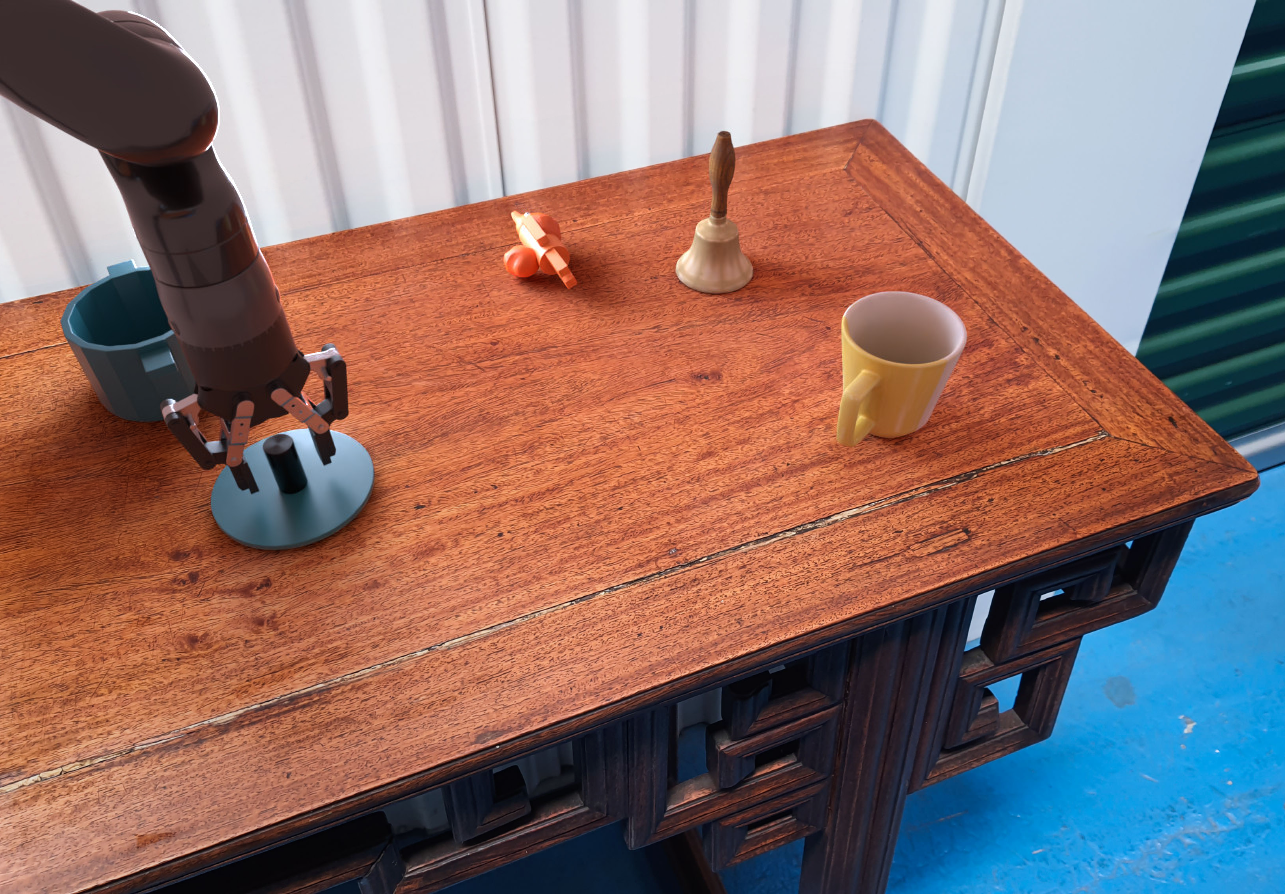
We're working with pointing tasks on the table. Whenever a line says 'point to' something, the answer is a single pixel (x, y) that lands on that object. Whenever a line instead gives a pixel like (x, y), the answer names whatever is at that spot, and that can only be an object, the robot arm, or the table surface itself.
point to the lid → (294, 491)
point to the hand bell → (716, 234)
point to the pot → (127, 344)
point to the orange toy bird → (539, 248)
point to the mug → (895, 363)
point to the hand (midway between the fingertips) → (288, 471)
